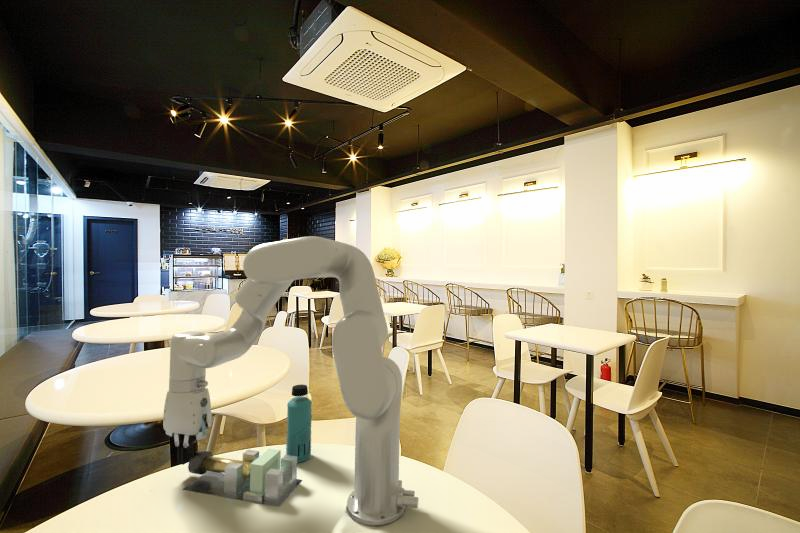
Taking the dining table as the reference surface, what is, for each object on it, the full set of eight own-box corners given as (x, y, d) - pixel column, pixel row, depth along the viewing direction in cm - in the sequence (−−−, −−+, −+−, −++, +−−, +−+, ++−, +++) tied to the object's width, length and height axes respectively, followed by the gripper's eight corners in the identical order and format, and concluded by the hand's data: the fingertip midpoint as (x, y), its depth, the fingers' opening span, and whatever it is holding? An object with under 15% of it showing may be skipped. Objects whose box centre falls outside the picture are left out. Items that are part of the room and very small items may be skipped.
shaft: (258, 475, 83) (258, 454, 83) (244, 487, 78) (245, 465, 79) (203, 466, 86) (204, 446, 87) (187, 477, 82) (188, 456, 82)
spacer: (279, 480, 83) (280, 450, 83) (261, 498, 76) (262, 465, 76) (268, 478, 84) (269, 448, 84) (249, 496, 77) (250, 463, 77)
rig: (302, 485, 83) (303, 455, 84) (278, 512, 74) (279, 478, 74) (214, 470, 89) (215, 442, 89) (182, 494, 79) (183, 463, 79)
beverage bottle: (295, 472, 89) (297, 391, 89) (280, 463, 93) (282, 386, 93) (316, 461, 94) (318, 385, 95) (300, 453, 98) (302, 380, 99)
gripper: (225, 382, 87) (223, 457, 87) (174, 377, 91) (172, 450, 90) (202, 391, 80) (199, 474, 80) (147, 386, 83) (145, 465, 83)
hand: (185, 461), depth 85 cm, fingers closed
